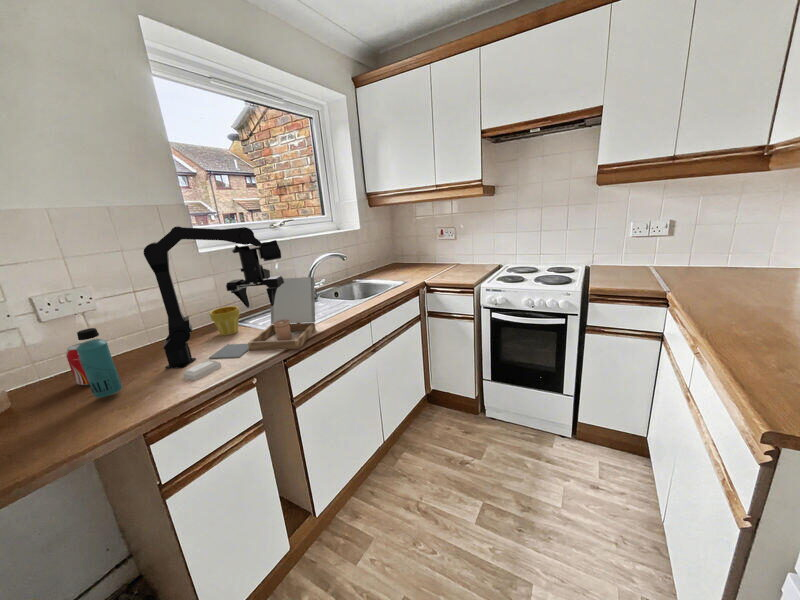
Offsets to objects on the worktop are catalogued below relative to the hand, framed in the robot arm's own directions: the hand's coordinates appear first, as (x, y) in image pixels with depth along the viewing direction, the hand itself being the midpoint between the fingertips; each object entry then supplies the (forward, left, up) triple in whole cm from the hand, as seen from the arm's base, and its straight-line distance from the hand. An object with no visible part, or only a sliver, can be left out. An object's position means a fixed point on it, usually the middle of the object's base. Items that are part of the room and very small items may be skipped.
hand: (260, 306), depth 121 cm
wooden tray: (+2, -6, -14) cm, 15 cm away
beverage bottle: (-35, +29, -14) cm, 48 cm away
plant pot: (+12, +22, -14) cm, 29 cm away
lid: (+14, -6, -2) cm, 15 cm away
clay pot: (+2, -6, -14) cm, 15 cm away
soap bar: (-22, +10, -14) cm, 28 cm away
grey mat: (-7, +9, -14) cm, 18 cm away
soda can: (-26, +44, -14) cm, 53 cm away
